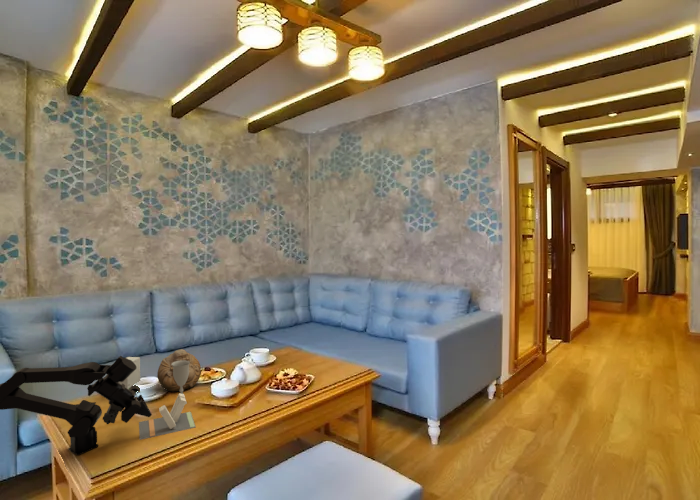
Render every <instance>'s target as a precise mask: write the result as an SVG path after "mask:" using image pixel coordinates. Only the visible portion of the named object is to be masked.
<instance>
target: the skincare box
mask: <svg viewBox="0 0 700 500" xmlns="http://www.w3.org/2000/svg"><path fill="white" fill-rule="evenodd" d="M126 358H127V359H129V360H131V361H133V362H134V364H135V365H136V367H137V368H136V370H135V371H134V372H132V373H131V374H130V375H129V376H128V377H127V378H126V379H125V380H124V381H123V382H118V383H120V384H122V383H123V384H124V385H125V387H126V388H127V389H129V388H130V387H131V386H133V385H134V384H135V383H137V382H139V381H141V357H139V356H133V357H132V356H127V357H126Z"/></svg>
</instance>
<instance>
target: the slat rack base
mask: <svg viewBox="0 0 700 500" xmlns="http://www.w3.org/2000/svg"><path fill="white" fill-rule="evenodd" d="M186 402H187V400H186V397H185V394H184V393H183V394H180V393H178V395H177V397H176V398H175V401H174V404H173V406H172V407H171V410H170V412H169V413H170V415H171V416H172V418H173V420H174V421H175V424H176V426H175V427H173V428H172V429H170V428H169V426H168V425H167V423H166V421H165V420H164V418H163V416H162V417H158V418H152V419H147V420H142V421H138V429H139V431H138V432H139V441H142V440H145V439H150V438H155V437H159V436H164V435H167V434H173V433H176V432H181V431H186V430H187V431H188V430H191V429H194V428H196V424H195V421H194V417H193V415H192V412H191V411H188V412H186V411H185V412H183V410H184V407H185V405H186V404H185V403H186Z"/></svg>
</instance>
